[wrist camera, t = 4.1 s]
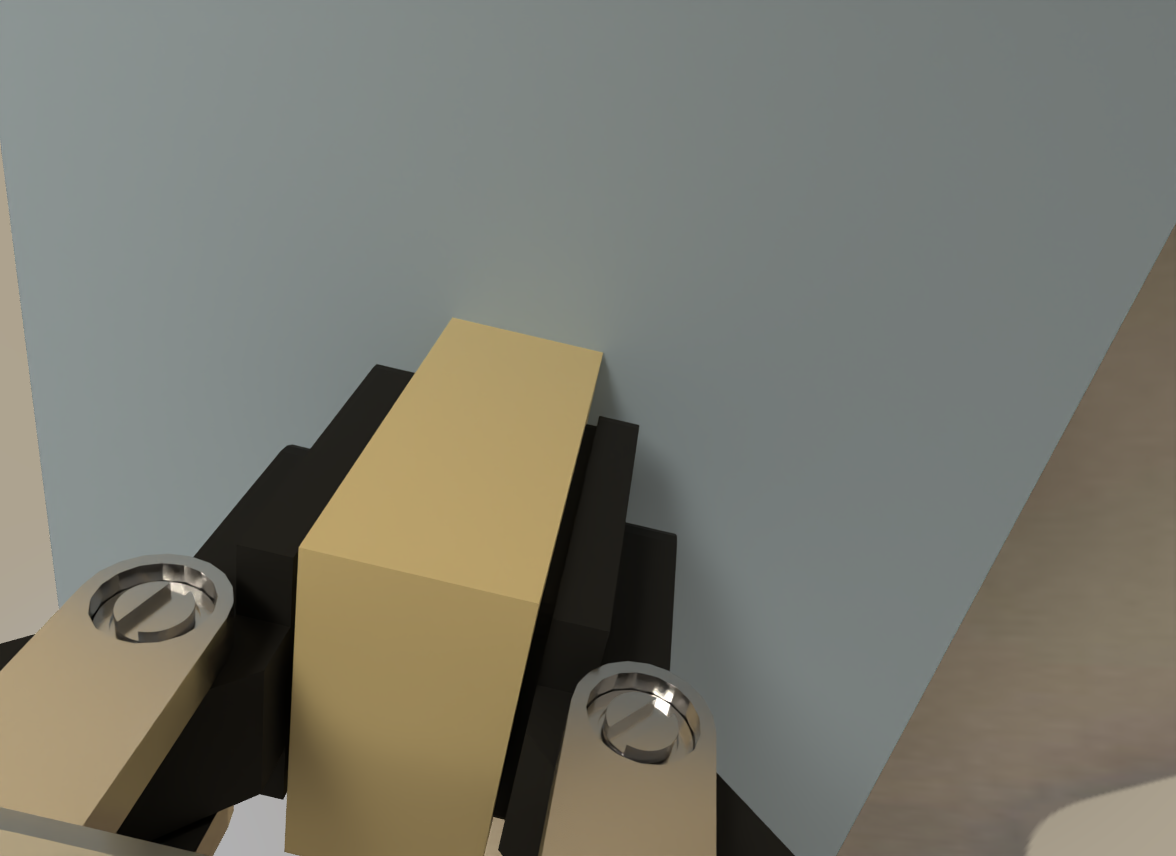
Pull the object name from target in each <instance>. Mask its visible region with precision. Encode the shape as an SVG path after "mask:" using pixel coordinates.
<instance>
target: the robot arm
mask: <svg viewBox="0 0 1176 856" xmlns="http://www.w3.org/2000/svg"><path fill="white" fill-rule="evenodd" d="M414 374H415V373H414V372H409V371H405V370H401V369H397V368H392V367H388V366H384V365H379V364H376V365H375V366H374V367H373V368H372V369H371V371H370V372H369V373H368V374H367V376H366V377H365V378H364V380H363V381H362V382H361V384H360V385H359V386H358V387H357V389H356V390H355V391H354V393H353V394H352V395H351V397H350V398H349V399H348V400H347V402H346V403H345V404H344V406H343V407H342V408H341V409H340V411H339V412H338V413H337V415H336V416H335V417H334V419H333V420H332V421H331V422H330V424H329V425H328V426H327V428H326V429H325V430H324V432H323V433H322V434H321V435H320V437H319V438H318V439H317V441H316V442H315V443H314V444H313V446H312V447H311V448H306V447H301V446H297V445H293V444H292V445H287V446H286V447H285V448H283V449H282V450H281V451H280V452H279V454H278V455H277V456H276V457H275V458H274V460H273V461H272V462H271V463H270V464H269V466H268V467H267V468H266V469H265V471H264V472H263V473H262V474H261V475H260V477H259V478H258V479H257V480H256V481H255V483H254V484H253V485H252V486H251V487H250V489H249V490H248V491H247V492H246V494H245V495H244V496H243V497H242V498H241V500H240V501H239V502H238V503H237V504H236V506H235V507H234V508H233V509H232V511H231V512H230V513H229V514H228V515H227V517H226V518H225V519H224V520H223V521H222V523H221V524H220V525H219V526H218V527H217V529H216V530H215V531H214V532H213V534H212V535H211V536H210V537H209V538H208V540H207V541H206V542H205V543H204V544H203V546H202V547H201V548H200V549H199V551H198V552H197V553H196V554H195V555H194V557H191V556H184V555H175V554H156V555H144V556H140V557H136V558H132V559H128V560H124V561H120V562H118V563H116V564H114V565H112V566H109V567H107V568H105V569H103V570H101V571H99V572H98V573H96V574H95V575H94V576H93V577H91V578H90V579H89V580H88V581H86V582H85V583H84V584H83V585H82V586H81V587H80V588H79V589H78V590H77V591H76V592H75V593H74V594H73V595H72V596H71V597H70V598H69V599H68V600H67V601H66V602H65V604H64V605H63V606H62V607H61V608H60V609H59V610H58V611H57V612H56V613H55V614H54V615H53V616H52V617H51V618H50V619H49V620H48V622H47V623H46V624H45V625H44V626H43V627H42V628H41V629H40V630H39V631H38V632H37V633H36V634H34V635H30V636H27V637H23V638H20V639H16V640H12V641H9V642H5V643H1V644H0V856H213V855H214V853H215V851H216V849H217V847H218V845H219V843H220V841H221V839H222V838H223V836H224V834H225V832H226V830H227V828H228V825H229V823H230V819H231V817H232V814H233V811H234V805H235V804H238V803H240V802H242V801H245V800H247V799H249V798H252V797H254V796H257V795H259V794H261V795H266V796H270V797H274V798H278V799H284V797H285V795H286V793H287V787H288V765H289V744H290V723H291V701H292V680H293V658H294V637H295V616H296V594H297V573H298V551H299V546H300V545H301V543H302V542H303V540H304V539H305V537H306V536H307V534H308V533H309V531H310V530H311V528H312V527H313V525H314V524H315V522H316V521H317V519H318V518H319V516H320V515H321V513H322V512H323V510H324V509H325V507H326V506H327V504H328V503H329V501H330V500H331V498H332V497H333V495H334V494H335V492H336V491H337V489H338V488H339V486H340V485H341V483H342V482H343V480H344V479H345V477H346V476H347V474H348V473H349V471H350V470H351V468H352V467H353V465H354V464H355V462H356V461H357V459H358V458H359V456H360V455H361V453H362V452H363V450H364V449H365V447H366V446H367V444H368V443H369V441H370V440H371V438H372V437H373V435H374V434H375V432H376V431H377V429H378V428H379V426H380V425H381V423H382V422H383V420H384V419H385V417H386V416H387V414H388V413H389V411H390V410H391V408H392V407H393V405H394V404H395V402H396V401H397V399H398V398H399V396H400V395H401V393H402V392H403V390H404V389H405V387H406V386H407V384H408V383H409V381H410V380H411V378H412V377H413V375H414ZM638 433H639V425H637V424H633V423H629V422H625V421H620V420H616V419H612V418H607V417H603V416H599V419H598V423H597V426H594V425H589V424H586V426H585V430H584V434H583V438H582V441H581V445H580V449H579V453H578V457H577V461H576V465H575V469H574V473H573V477H572V481H571V485H570V489H569V493H568V497H567V501H566V505H565V509H564V513H563V517H562V520H561V524H560V528H559V532H558V536H557V540H556V544H555V548H554V552H553V556H552V560H551V564H550V568H549V572H548V576H547V580H546V584H545V588H544V592H543V596H542V600H541V604H540V608H539V612H538V616H537V620H536V625H535V629H534V633H533V638H532V642H531V646H530V651H529V655H528V660H527V664H526V669H525V673H524V678H523V682H522V687H521V691H520V696H519V700H518V705H517V709H516V714H515V718H514V722H513V727H512V731H511V736H510V740H509V745H508V749H507V754H506V758H505V763H504V767H503V772H502V776H501V781H500V785H499V789H498V794H497V798H496V803H495V807H494V812H493V817H496V818H500V819H504V820H505V823H504V827H503V831H502V836H501V840H500V844H499V849H498V850H499V851H500V852H501V854H502V855H503V856H795V855H794V854H793V853H792V852H791V851H790V850H789V849H788V848H787V847H786V845H785V844H784V843H783V842H782V841H781V840H780V839H779V838H778V837H777V836H776V835H775V834H774V833H773V832H772V831H771V830H770V828H769V827H768V826H767V825H766V824H765V823H764V822H763V821H762V820H761V819H760V818H759V817H758V816H757V815H756V814H755V813H754V812H753V810H752V809H751V808H750V807H749V806H748V805H747V804H746V803H745V802H744V801H743V800H742V799H741V798H740V797H739V796H738V795H737V793H736V792H735V791H734V790H733V789H732V788H731V787H730V786H729V785H728V784H727V783H726V782H725V781H724V780H723V779H722V778H721V776H720V775H719V774H718V773H717V772H716V729H715V724H714V719H713V715H712V713H711V711H710V709H709V708H708V706H707V704H706V702H705V701H704V699H703V697H702V696H701V695H700V694H699V693H698V692H697V691H696V690H695V689H694V688H693V687H692V686H691V685H690V684H689V683H688V682H686V681H684V680H683V679H681V678H680V677H678V676H676V675H675V674H673V673H672V672H670V662H671V644H672V627H673V609H674V591H675V573H676V555H677V535H676V534H674V533H670V532H666V531H661V530H657V529H653V528H648V527H644V526H640V525H636V524H631V523H627V522H626V516H627V509H628V502H629V495H630V488H631V481H632V474H633V467H634V460H635V454H636V447H637V440H638Z"/></svg>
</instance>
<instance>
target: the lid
mask: <svg viewBox="0 0 1176 856" xmlns="http://www.w3.org/2000/svg"><path fill="white" fill-rule="evenodd" d="M0 143H1V151H2V159H3V167H4V175H5V183H6V191H7V199H8V206H9V215H10V223H11V231H12V238H13V247H14V254H15V262H16V271H17V278H18V286H19V295H20V303H21V310H22V318H23V326H24V334H25V342H26V350H27V358H28V366H29V374H30V382H31V390H32V398H33V406H34V414H35V422H36V430H37V437H38V445H39V454H40V462H41V469H42V477H43V485H44V493H45V501H46V509H47V517H48V525H49V533H50V541H51V549H52V556H53V565H54V573H55V581H56V589H57V597H58V605H59V609H60V608H61V607H62V606H63V605H64V604H65V602H66V601H67V600H68V599H69V598H70V597H71V596H72V595H73V594H74V593H75V592H76V591H77V590H78V589H79V588H80V587H81V586H82V585H83V584H84V583H85V582H86V581H88V580H89V579H90V578H91V577H93V576H94V575H95V574H96V573H98V572H99V571H101V570H103V569H105V568H107V567H109V566H112V565H114V564H116V563H118V562H120V561H124V560H128V559H132V558H136V557H140V556H144V555H156V554H175V555H184V556H191V557H194V555H195V554H196V553H197V552H198V551H199V549H200V548H201V547H202V546H203V544H204V543H205V542H206V541H207V540H208V538H209V537H210V536H211V535H212V534H213V532H214V531H215V530H216V529H217V527H218V526H219V525H220V524H221V523H222V521H223V520H224V519H225V518H226V517H227V515H228V514H229V513H230V512H231V511H232V509H233V508H234V507H235V506H236V504H237V503H238V502H239V501H240V500H241V498H242V497H243V496H244V495H245V494H246V492H247V491H248V490H249V489H250V487H251V486H252V485H253V484H254V483H255V481H256V480H257V479H258V478H259V477H260V475H261V474H262V473H263V472H264V471H265V469H266V468H267V467H268V466H269V464H270V463H271V462H272V461H273V460H274V458H275V457H276V456H277V455H278V454H279V452H280V451H281V450H282V449H283V448H285V447H286V446H287V445H292V444H293V445H297V446H301V447H306V448H311V447H312V446H313V444H314V443H315V442H316V441H317V439H318V438H319V437H320V435H321V434H322V433H323V432H324V430H325V429H326V428H327V426H328V425H329V424H330V422H331V421H332V420H333V419H334V417H335V416H336V415H337V413H338V412H339V411H340V409H341V408H342V407H343V406H344V404H345V403H346V402H347V400H348V399H349V398H350V397H351V395H352V394H353V393H354V391H355V390H356V389H357V387H358V386H359V385H360V384H361V382H362V381H363V380H364V378H365V377H366V376H367V374H368V373H369V372H370V371H371V369H372V368H373V367H374V366H375V365H376V364H379V365H384V366H388V367H392V368H397V369H401V370H405V371H409V372H414V373H415V374H414V375H413V377H412V378H411V380H410V381H409V383H408V384H407V386H406V387H405V389H404V390H403V392H402V393H401V395H400V396H399V398H398V399H397V401H396V402H395V404H394V405H393V407H392V408H391V410H390V411H389V413H388V414H387V416H386V417H385V419H384V420H383V422H382V423H381V425H380V426H379V428H378V429H377V431H376V432H375V434H374V435H373V437H372V438H371V440H370V441H369V443H368V444H367V446H366V447H365V449H364V450H363V452H362V453H361V455H360V456H359V458H358V459H357V461H356V462H355V464H354V465H353V467H352V468H351V470H350V471H349V473H348V474H347V476H346V477H345V479H344V480H343V482H342V483H341V485H340V486H339V488H338V489H337V491H336V492H335V494H334V495H333V497H332V498H331V500H330V501H329V503H328V504H327V506H326V507H325V509H324V510H323V512H322V513H321V515H320V516H319V518H318V519H317V521H316V522H315V524H314V525H313V527H312V528H311V530H310V531H309V533H308V534H307V536H306V537H305V539H304V540H303V542H302V543H301V545H300V546H299V551H298V573H297V594H296V616H295V637H294V658H293V680H292V701H291V723H290V744H289V765H288V787H287V809H286V831H285V852H287V853H291V854H295V855H300V856H484V853H485V849H486V845H487V841H488V837H489V833H490V829H491V825H492V820H493V812H494V807H495V803H496V798H497V794H498V789H499V785H500V781H501V776H502V772H503V767H504V763H505V758H506V754H507V749H508V745H509V740H510V736H511V731H512V727H513V722H514V718H515V714H516V709H517V705H518V700H519V696H520V691H521V687H522V682H523V678H524V673H525V669H526V664H527V660H528V655H529V651H530V646H531V642H532V638H533V633H534V629H535V625H536V620H537V616H538V612H539V608H540V604H541V600H542V596H543V592H544V588H545V584H546V580H547V576H548V572H549V568H550V564H551V560H552V556H553V552H554V548H555V544H556V540H557V536H558V532H559V528H560V524H561V520H562V517H563V513H564V509H565V505H566V501H567V497H568V493H569V489H570V485H571V481H572V477H573V473H574V469H575V465H576V461H577V457H578V453H579V449H580V445H581V441H582V438H583V434H584V430H585V426H586V424H589V425H594V426H597V423H598V419H599V416H603V417H607V418H612V419H616V420H620V421H625V422H629V423H633V424H637V425H639V433H638V440H637V447H636V454H635V460H634V467H633V474H632V481H631V488H630V495H629V502H628V509H627V516H626V522H627V523H631V524H636V525H640V526H644V527H648V528H653V529H657V530H661V531H666V532H670V533H674V534H676V535H677V555H676V573H675V591H674V609H673V627H672V644H671V662H670V672H672V673H673V674H675V675H676V676H678V677H680V678H681V679H683V680H684V681H686V682H688V683H689V684H690V685H691V686H692V687H693V688H694V689H695V690H696V691H697V692H698V693H699V694H700V695H701V696H702V697H703V699H704V701H705V702H706V704H707V706H708V708H709V709H710V711H711V713H712V715H713V719H714V724H715V729H716V772H717V773H718V774H719V775H720V776H721V778H722V779H723V780H724V781H725V782H726V783H727V784H728V785H729V786H730V787H731V788H732V789H733V790H734V791H735V792H736V793H737V795H738V796H739V797H740V798H741V799H742V800H743V801H744V802H745V803H746V804H747V805H748V806H749V807H750V808H751V809H752V810H753V812H754V813H755V814H756V815H757V816H758V817H759V818H760V819H761V820H762V821H763V822H764V823H765V824H766V825H767V826H768V827H769V828H770V830H771V831H772V832H773V833H774V834H775V835H776V836H777V837H778V838H779V839H780V840H781V841H782V842H783V843H784V844H785V845H786V847H787V848H788V849H789V850H790V851H791V852H792V853H793V854H794V855H795V856H836V855H837V854H838V852H839V850H840V848H841V846H842V844H843V842H844V840H845V839H846V837H847V835H848V833H849V831H850V829H851V827H852V826H853V824H854V822H855V820H856V818H857V816H858V814H859V813H860V811H861V809H862V807H863V805H864V803H865V801H866V799H867V798H868V796H869V794H870V792H871V790H872V788H873V786H874V785H875V783H876V781H877V779H878V777H879V775H880V773H881V772H882V770H883V768H884V766H885V764H886V762H887V760H888V759H889V757H890V755H891V753H892V751H893V749H894V747H895V745H896V744H897V742H898V740H899V738H900V736H901V734H902V732H903V731H904V729H905V727H906V725H907V723H908V721H909V719H910V718H911V716H912V714H913V712H914V710H915V708H916V706H917V704H918V703H919V701H920V699H921V697H922V695H923V693H924V691H925V690H926V688H927V686H928V684H929V682H930V680H931V678H932V677H933V675H934V673H935V671H936V669H937V667H938V665H939V664H940V662H941V660H942V658H943V656H944V654H945V652H946V650H947V649H948V647H949V645H950V643H951V641H952V639H953V637H954V636H955V634H956V632H957V630H958V628H959V626H960V624H961V623H962V621H963V619H964V617H965V615H966V613H967V611H968V609H969V608H970V606H971V604H972V602H973V600H974V598H975V596H976V595H977V593H978V591H979V589H980V587H981V585H982V583H983V582H984V580H985V578H986V576H987V574H988V572H989V570H990V569H991V567H992V565H993V563H994V561H995V559H996V557H997V555H998V554H999V552H1000V550H1001V548H1002V546H1003V544H1004V542H1005V541H1006V539H1007V537H1008V535H1009V533H1010V531H1011V529H1012V528H1013V526H1014V524H1015V522H1016V520H1017V518H1018V516H1019V514H1020V513H1021V511H1022V509H1023V507H1024V505H1025V503H1026V501H1027V500H1028V498H1029V496H1030V494H1031V492H1032V490H1033V488H1034V487H1035V485H1036V483H1037V481H1038V479H1039V477H1040V475H1041V474H1042V472H1043V470H1044V468H1045V466H1046V464H1047V462H1048V460H1049V459H1050V457H1051V455H1052V453H1053V451H1054V449H1055V447H1056V446H1057V444H1058V442H1059V440H1060V438H1061V436H1062V434H1063V433H1064V431H1065V429H1066V427H1067V425H1068V423H1069V421H1070V419H1071V418H1072V416H1073V414H1074V412H1075V410H1076V408H1077V406H1078V405H1079V403H1080V401H1081V399H1082V397H1083V395H1084V393H1085V392H1086V390H1087V388H1088V386H1089V384H1090V382H1091V380H1092V379H1093V377H1094V375H1095V373H1096V371H1097V369H1098V367H1099V365H1100V364H1101V362H1102V360H1103V358H1104V356H1105V354H1106V352H1107V351H1108V349H1109V347H1110V345H1111V343H1112V341H1113V339H1114V338H1115V336H1116V334H1117V332H1118V330H1119V328H1120V326H1121V324H1122V323H1123V321H1124V319H1125V317H1126V315H1127V313H1128V311H1129V310H1130V308H1131V306H1132V304H1133V302H1134V300H1135V298H1136V297H1137V295H1138V293H1139V291H1140V289H1141V287H1142V285H1143V284H1144V282H1145V280H1146V278H1147V276H1148V274H1149V272H1150V270H1151V269H1152V267H1153V265H1154V263H1155V261H1156V259H1157V257H1158V256H1159V254H1160V252H1161V250H1162V248H1163V246H1164V244H1165V243H1166V241H1167V239H1168V237H1169V235H1170V233H1171V231H1172V229H1173V228H1174V226H1175V224H1176V0H0Z"/></svg>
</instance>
